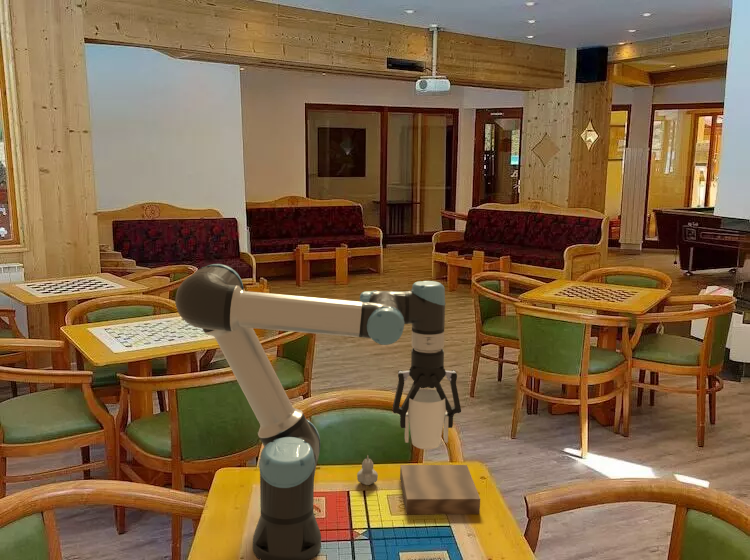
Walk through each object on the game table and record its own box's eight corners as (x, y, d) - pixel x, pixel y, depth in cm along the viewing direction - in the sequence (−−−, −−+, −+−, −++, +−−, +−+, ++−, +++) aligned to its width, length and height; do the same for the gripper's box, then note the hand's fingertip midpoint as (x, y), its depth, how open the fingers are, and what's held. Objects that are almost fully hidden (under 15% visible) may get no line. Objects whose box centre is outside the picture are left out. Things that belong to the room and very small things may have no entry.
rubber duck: (377, 478, 183) (377, 450, 182) (377, 490, 177) (378, 462, 175) (357, 478, 183) (357, 450, 182) (357, 490, 177) (357, 462, 175)
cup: (442, 453, 156) (443, 404, 153) (403, 449, 158) (404, 400, 155) (447, 437, 164) (448, 390, 162) (411, 434, 166) (411, 387, 164)
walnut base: (406, 514, 166) (407, 499, 165) (400, 478, 183) (400, 464, 183) (479, 513, 167) (480, 499, 166) (466, 478, 184) (466, 464, 184)
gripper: (381, 353, 153) (381, 447, 157) (476, 353, 153) (473, 446, 157) (381, 343, 160) (380, 433, 165) (471, 343, 160) (468, 433, 165)
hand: (426, 440), depth 161 cm, fingers closed on cup, 9 cm apart
